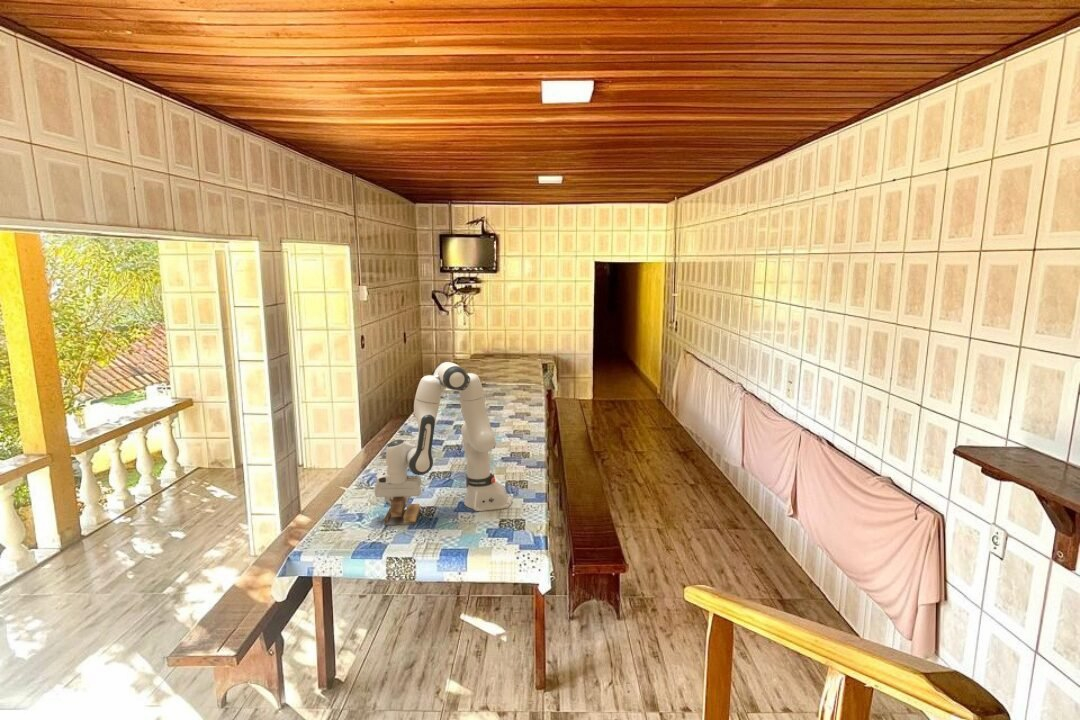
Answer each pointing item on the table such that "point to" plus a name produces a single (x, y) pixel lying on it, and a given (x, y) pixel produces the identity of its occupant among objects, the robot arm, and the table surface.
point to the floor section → (404, 516)
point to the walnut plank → (397, 506)
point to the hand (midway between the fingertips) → (398, 505)
